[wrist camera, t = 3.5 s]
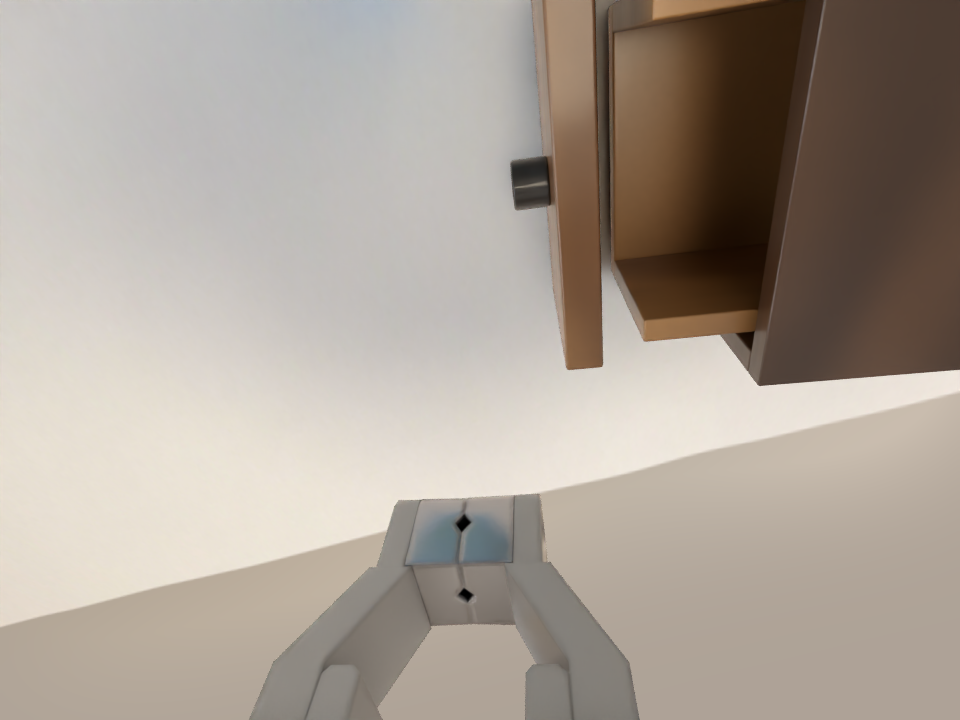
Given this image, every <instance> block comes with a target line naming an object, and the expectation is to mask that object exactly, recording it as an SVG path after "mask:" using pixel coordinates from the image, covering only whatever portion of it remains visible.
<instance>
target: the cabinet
mask: <svg viewBox="0 0 960 720" xmlns="http://www.w3.org/2000/svg"><path fill="white" fill-rule="evenodd" d="M720 335H721V337H722V338H723V339H724V341H725V342H726V343H727V345H728V346H729V347H730V349H731V350H732V351H733V352H734V354H735V355H736V356H737V358H738V359H739V360H740V362H741V363H742V364H743V366H744V367H745V368H746V370H747V371H749V374H750V375H751V377H752V378H753V379H754V381H755V382H756V383H757V385H759V386H764V385H776V384H789V383H801V382H813V381H826V380H838V379H850V378H863V377H875V376H887V375H900V374H912V373H924V372H937V371H949V370H960V0H806V5H805V11H804V18H803V24H802V31H801V37H800V43H799V50H798V56H797V63H796V69H795V76H794V82H793V89H792V95H791V101H790V108H789V114H788V121H787V127H786V134H785V140H784V147H783V153H782V160H781V166H780V172H779V179H778V185H777V192H776V198H775V205H774V211H773V218H772V224H771V230H770V237H769V243H768V250H767V256H766V263H765V269H764V276H763V282H762V288H761V295H760V301H759V308H758V314H757V321H756V327H755V331H752V332H741V333H731V334H720Z"/></svg>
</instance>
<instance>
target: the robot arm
mask: <svg viewBox="0 0 960 720" xmlns="http://www.w3.org/2000/svg"><path fill="white" fill-rule="evenodd" d="M462 624H500V625H516V628H517V630H518V631H519V633H520V635H521V637H522V639H523V640H524V642H525V644H526V646H527V648H528V649H529V651H530V653H531V654H532V656H533V658H534V660H535V662H536V663H537V664H534V665H532V666H531V667H530V669H529V670H528V671H527V672H526V697H525V698H526V699H525V720H639V714H638V709H637V703H636V698H635V692H634V687H633V681H632V675H631V670H630V664H629V662H628V660H627V659H626V658H625V656H624V655H623V654H622V653H621V652H620V650H619V649H618V648H617V646H616V645H615V644H614V642H613V641H612V640H611V639H610V637H609V636H608V635H607V634H606V632H605V631H604V630H603V629H602V627H601V626H600V625H599V623H598V622H597V621H596V620H595V618H594V617H593V616H592V614H591V613H590V612H589V611H588V609H587V608H586V607H585V605H584V604H583V603H582V602H581V600H580V599H579V598H578V597H577V595H576V594H575V593H574V592H573V590H572V589H571V588H570V586H569V585H568V584H567V583H566V581H565V580H564V579H563V577H562V576H561V575H560V574H559V572H558V571H557V570H556V569H555V568H554V566H553V565H552V563H551V562H547V553H546V542H545V532H544V522H543V513H542V504H541V497H540V494H526V495H508V496H491V497H475V498H462V499H422V500H399V501H398V502H397V504H396V505H395V506H394V509H393V513H392V516H391V519H390V523H389V526H388V530H387V533H386V536H385V540H384V543H383V547H382V550H381V553H380V557H379V560H378V564H377V567H370V568H368V569H367V570H366V571H365V572H364V573H363V574H362V575H361V576H360V577H359V578H358V579H357V580H356V581H355V582H354V583H353V584H352V585H351V586H350V587H349V588H348V589H347V590H346V591H345V592H344V593H343V594H342V595H341V596H340V597H339V598H338V599H337V600H336V601H335V602H334V603H333V604H332V605H331V606H330V607H329V608H328V609H327V610H326V611H325V612H324V613H323V614H322V615H321V616H320V617H319V618H318V619H317V620H316V621H315V622H314V623H313V624H312V625H311V626H310V627H309V628H308V629H306V630H305V632H303V633H302V634H301V635H300V636H299V637H298V638H297V639H296V640H295V641H294V642H293V643H292V644H291V645H290V646H289V647H288V648H287V649H286V650H285V651H284V652H283V653H282V654H281V655H280V656H279V657H278V658H277V659H276V660H275V661H274V662H273V664H272V667H271V669H270V671H269V674H268V676H267V678H266V681H265V683H264V685H263V688H262V690H261V692H260V695H259V697H258V700H257V702H256V704H255V707H254V709H253V712H252V714H251V716H250V719H249V720H382V718H381V716H380V714H379V711H378V709H377V707H378V706H379V704H380V703H381V702H382V700H383V699H384V697H385V696H386V694H387V693H388V691H389V690H390V688H391V687H392V686H393V684H394V683H395V681H396V680H397V678H398V677H399V675H400V674H401V672H402V671H403V669H404V668H405V667H406V665H407V664H408V662H409V661H410V659H411V658H412V656H413V655H414V653H415V652H416V650H417V649H418V648H419V646H420V644H421V643H422V642H423V640H424V639H425V637H426V636H427V634H428V633H429V631H430V630H431V626H437V625H438V626H439V625H462Z"/></svg>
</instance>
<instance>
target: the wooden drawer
mask: <svg viewBox="0 0 960 720" xmlns="http://www.w3.org/2000/svg"><path fill="white" fill-rule="evenodd" d="M531 3H532V16H533V29H534V43H535V56H536V69H537V82H538V96H539V109H540V122H541V136H542V149H543V156H540V157H533V158H526V159H519V160H512V161H511V163H510V167H511V179H512V189H513V198H514V206H515V209H516V210H525V209H532V208H540V207H547V215H548V229H549V242H550V255H551V268H552V282H553V292H554V298H555V304H556V310H557V316H558V322H559V328H560V334H561V339H562V345H563V351H564V357H565V363H566V368H567V369H568V370H574V369H585V368H597V367H602V366H603V336H602V290H601V244H600V198H599V152H598V106H597V60H596V14H595V0H531ZM805 5H806V0H619V1H617V2H615V3H614V4H613V5H611V6H610V7H609V9H608V10H609V104H610V197H611V271H612V273H613V275H614V278H615V280H616V282H617V284H618V286H619V289H620V291H621V293H622V295H623V297H624V299H625V301H626V304H627V306H628V308H629V310H630V312H631V314H632V317H633V319H634V321H635V323H636V325H637V327H638V330H639V332H640V334H641V336H642V338H643V340H644V341H657V340H667V339H678V338H688V337H699V336H710V335H720V334H731V333H741V332H752V331H755V327H756V321H757V314H758V308H759V301H760V295H761V288H762V282H763V276H764V269H765V263H766V256H767V250H768V243H769V237H770V230H771V224H772V218H773V211H774V205H775V198H776V192H777V185H778V179H779V172H780V166H781V160H782V153H783V147H784V140H785V134H786V127H787V121H788V114H789V108H790V101H791V95H792V89H793V82H794V76H795V69H796V63H797V56H798V50H799V43H800V37H801V31H802V24H803V18H804V11H805Z"/></svg>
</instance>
